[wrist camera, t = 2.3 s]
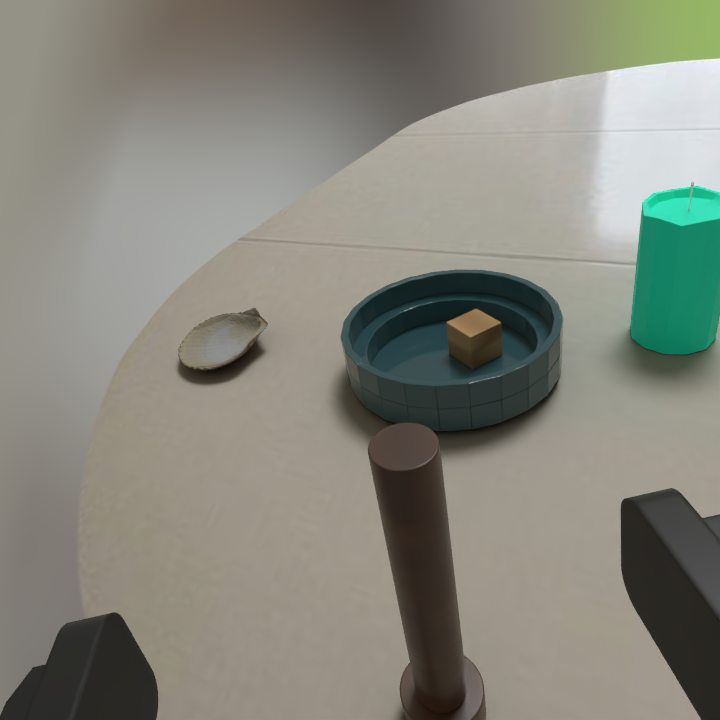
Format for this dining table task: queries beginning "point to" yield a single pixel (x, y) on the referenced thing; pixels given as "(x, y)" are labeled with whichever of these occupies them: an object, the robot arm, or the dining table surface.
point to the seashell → (221, 340)
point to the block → (474, 338)
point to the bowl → (431, 353)
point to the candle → (678, 271)
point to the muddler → (424, 575)
